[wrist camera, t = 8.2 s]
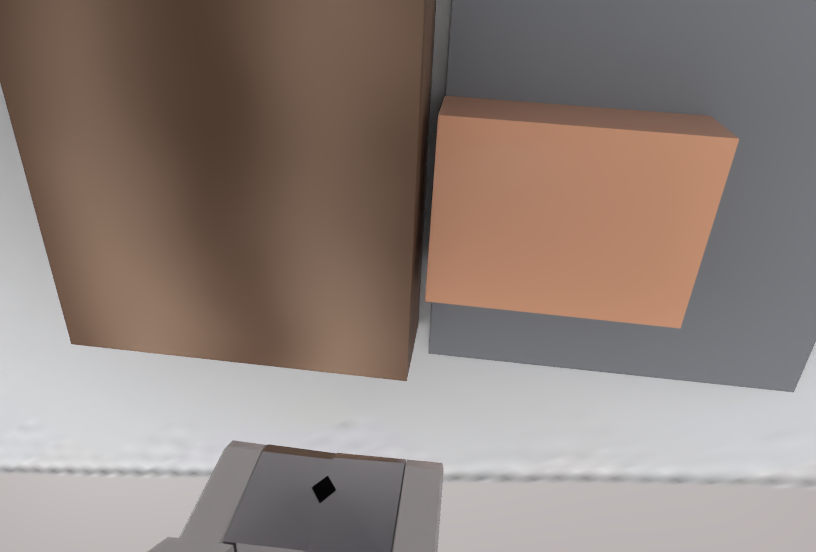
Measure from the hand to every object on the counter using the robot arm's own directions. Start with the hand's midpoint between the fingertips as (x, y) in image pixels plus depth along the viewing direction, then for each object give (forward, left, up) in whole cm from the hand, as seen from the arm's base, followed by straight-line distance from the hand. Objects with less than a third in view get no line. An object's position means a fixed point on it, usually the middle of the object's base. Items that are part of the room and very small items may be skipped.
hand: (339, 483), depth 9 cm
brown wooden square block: (-6, 0, -14) cm, 15 cm away
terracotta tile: (+4, 0, -13) cm, 14 cm away
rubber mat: (+7, +1, -14) cm, 15 cm away
